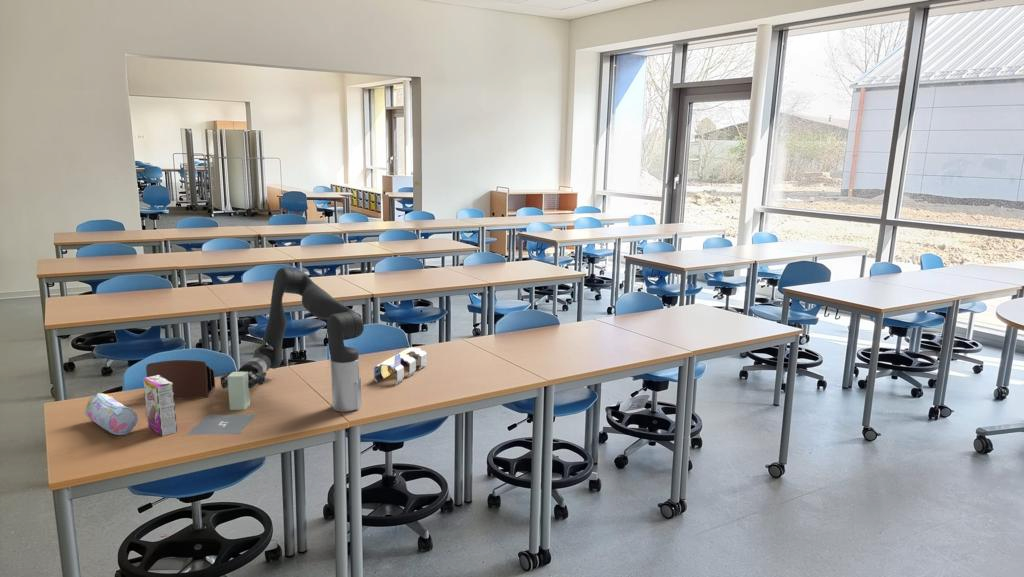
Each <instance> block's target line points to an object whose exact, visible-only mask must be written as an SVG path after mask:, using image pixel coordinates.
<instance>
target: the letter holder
mask: <svg viewBox="0 0 1024 577" xmlns="http://www.w3.org/2000/svg"><path fill="white" fill-rule="evenodd" d="M145 371H146V377H150V376H155V375H160V376H162V377H163V378H165V379H166V380H168V381H170V382H172V383H173V393H174V398H183V399H201V398H200V397H205V398H209V397H210V396H211V394H212V393H213V392H214V391H215V389H216V383H215V382H216V379H215V371H214V369H213V368H211V367H210V366H209V365H207V363H206V362H205V361H202V360H201V361H200V360H191V359H187V360H185V359H175V360H163V361H155V362H150V363H147V364H146V365H145ZM209 395H210V396H209ZM198 397H199V398H198Z"/></svg>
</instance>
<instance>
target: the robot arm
mask: <svg viewBox="0 0 1024 577" xmlns="http://www.w3.org/2000/svg"><path fill="white" fill-rule="evenodd" d="M273 279H274V280H273V284H272V292H271V297H270V298H271V299H270V300H271V301H270V307H269V308H270V309H269V314H268V321H267V324H266V328H265V331H264V335H263V341H264V342H265V343H266V344H268V345H269V346H271V347H272V348H270V347H266V346H259V347H257V348H256V349H255V350H254V352H253V357H251V359H249V360H248V361H246V362H245V363H244V364H243V365H241V366H240V367H239V369H238V371H237V372H248V380H249V382H248V388H249V389H251V388H253V387H255V386H258V385H260V386H262V385H264V384H265V382H266V381H267V378H268V377H267V376H268V375H267V371H269V370H270V369H274V370H275V369H277V368H279V367H280V366H281V364H282V360H283V342H284V341H283V340H284V336H285V333H286V330H287V325H288V324H287V323H288V322H287V316H286V314H285V311H284V306H283V297H284V294H294V295H299V296H301V304H302V306H303V307H304V308H305V310H306V311H307V312H308V313H310V314H311V315H312V316H314V317H315V318H318V319H321V320H327V321H326V331H327V340H328V341H327V342H328V351H329V355H330V376H331V380H330V381H331V399H332V400H331V403H332V404H331V405H332V410H334V411H336V412H353V411H358V410H359V409H360V407H361V406H362V380H361V377H360V362H359V351H358V349H356V348H355V347H350V346H345V342H344V341H347V340H351V339H356V338H359V337H360V336H361V335H362V334H363V332H364V329H365V324H364V321H363V319H362V317H361V315H360V314H359V313H358V312H356V311H355V310H353V309H351V308H350V307H349V306H345V305H344V304H343V303H341V302H339V301H338V299H335V298H334V297H333V296H332V295H330V294H329V293H328V292H327V291H326V290H325V289H323V288H321V287H320V286H318V284H316V283H315V282H314V281H313V280H312V279H311V278H310V277H309V275H307V273H305V272H304V271H303V270H301V269H294V268H286V267H281V268H279V269H278V270H277V271H276V273H275V275H274V278H273ZM230 374H231V372H226V373H225V374H223V375H222V376H221V377H219V378H220V385H221V388H222V389H227V388H228V377H227V376H229V375H230Z"/></svg>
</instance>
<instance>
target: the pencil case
mask: <svg viewBox="0 0 1024 577" xmlns="http://www.w3.org/2000/svg"><path fill="white" fill-rule="evenodd" d="M85 415H86V416H87V418H88V419H89V421H91V422H92V423H95V424H96V425H98V426H99V427H100V428H102V429H103V430H105V431H107V432H108V433H110V434H113V435H117V436H126V435H128V434H129V433H131V432H132V430H133V429H134V428H135V427H136V426H137V423H138V414H137V412H136V411H135V409H133V408H131V407H130V406H126V405H123V404H122V403H121V402H120V401H119V402H118V400H116V399H114V397H113V396H111V395H110V394H106V393H102V392H100V393H99V392H97V393H96V394H95V395H91V397H89V399H88V400H87V403H86V405H85Z"/></svg>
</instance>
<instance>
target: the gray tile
mask: <svg viewBox="0 0 1024 577" xmlns="http://www.w3.org/2000/svg"><path fill="white" fill-rule="evenodd" d="M256 416H257V414H207V415H206V416H205V417H204V418H202V420H200V421H199V422H198V423H197V424H196V425H195V426H194V427H193V428H191V429H190V430H189V431H188V432H187V433H186V435H188V436H189V435H190V436H191V435H195V436H196V435H240V434H241V433H242V432H243V431H244V430H245V429H246V427H247V426H249V424H250V423H251V422H252V421H253V420H254V419H255V417H256Z"/></svg>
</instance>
